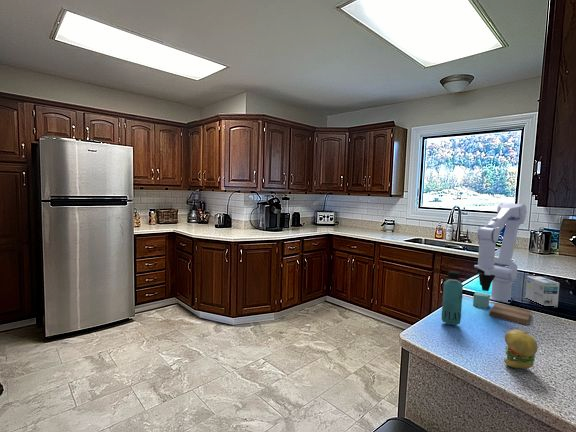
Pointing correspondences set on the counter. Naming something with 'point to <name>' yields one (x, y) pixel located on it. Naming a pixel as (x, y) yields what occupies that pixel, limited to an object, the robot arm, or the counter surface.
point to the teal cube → (481, 300)
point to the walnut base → (510, 313)
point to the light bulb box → (542, 290)
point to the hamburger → (520, 349)
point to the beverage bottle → (452, 299)
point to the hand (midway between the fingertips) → (484, 287)
